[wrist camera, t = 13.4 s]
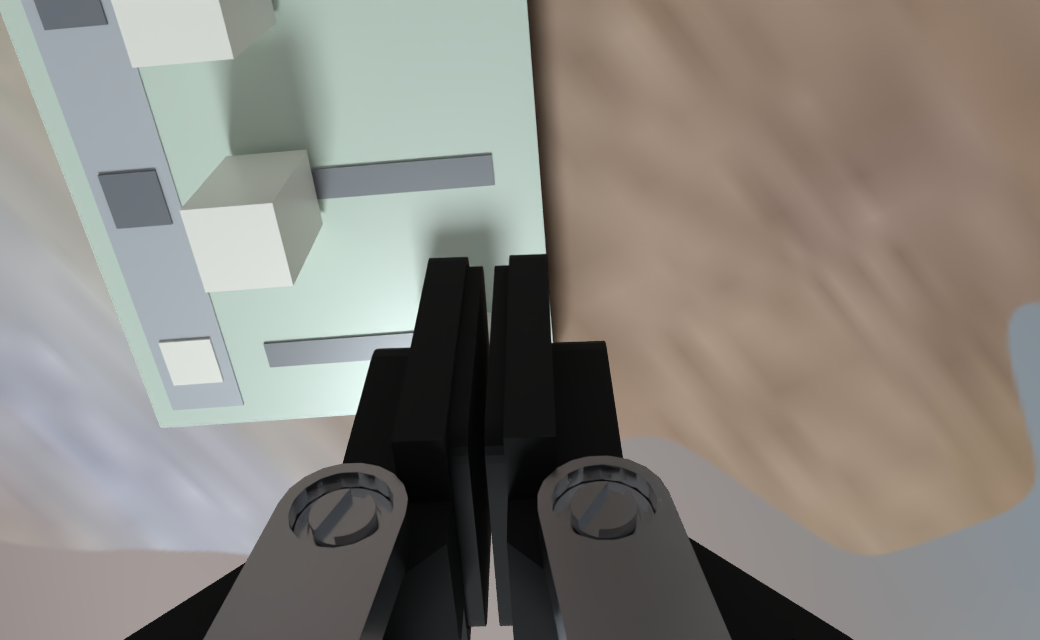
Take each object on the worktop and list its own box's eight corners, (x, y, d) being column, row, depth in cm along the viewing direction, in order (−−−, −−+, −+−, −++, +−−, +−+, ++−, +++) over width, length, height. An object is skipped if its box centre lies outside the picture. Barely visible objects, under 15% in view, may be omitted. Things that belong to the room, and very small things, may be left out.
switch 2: (306, 149, 31) (272, 203, 26) (323, 224, 32) (293, 285, 28) (226, 156, 31) (179, 210, 27) (246, 230, 32) (205, 292, 28)
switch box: (513, -173, 28) (513, -172, 26) (554, 362, 40) (557, 403, 37) (0, -123, 29) (-54, -116, 26) (183, 389, 40) (158, 431, 38)
